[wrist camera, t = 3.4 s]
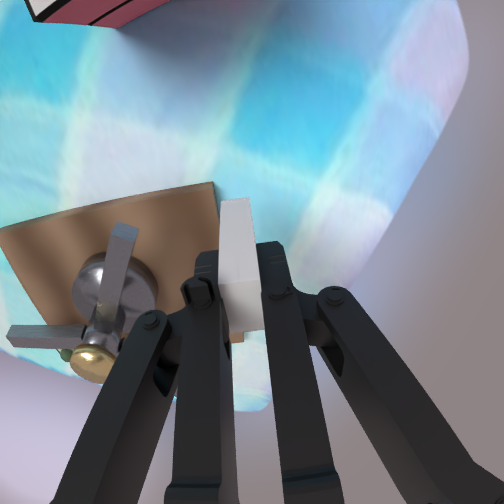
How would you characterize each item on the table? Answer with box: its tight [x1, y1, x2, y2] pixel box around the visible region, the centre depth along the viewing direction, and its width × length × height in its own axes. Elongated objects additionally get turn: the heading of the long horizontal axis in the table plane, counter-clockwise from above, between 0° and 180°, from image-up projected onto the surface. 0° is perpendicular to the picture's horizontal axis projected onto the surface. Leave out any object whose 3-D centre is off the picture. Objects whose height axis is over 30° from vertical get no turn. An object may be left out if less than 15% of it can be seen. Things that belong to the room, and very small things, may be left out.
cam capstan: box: [6, 221, 178, 397], centre depth 22 cm, size 16×18×8 cm
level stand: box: [0, 182, 244, 362], centre depth 25 cm, size 20×16×4 cm
